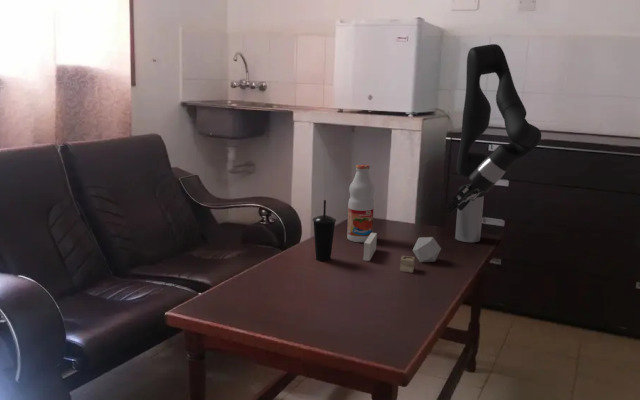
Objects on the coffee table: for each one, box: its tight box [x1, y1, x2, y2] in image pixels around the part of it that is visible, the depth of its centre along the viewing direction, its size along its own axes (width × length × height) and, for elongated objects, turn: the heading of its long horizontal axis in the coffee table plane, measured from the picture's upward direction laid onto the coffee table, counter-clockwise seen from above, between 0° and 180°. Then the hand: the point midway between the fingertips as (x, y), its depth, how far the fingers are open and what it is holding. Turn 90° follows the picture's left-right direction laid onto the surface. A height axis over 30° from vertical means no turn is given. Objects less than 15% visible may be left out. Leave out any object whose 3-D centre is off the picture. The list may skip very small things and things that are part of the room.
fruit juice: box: [346, 163, 375, 243], centre depth 225 cm, size 9×9×28 cm
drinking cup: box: [312, 199, 337, 262], centre depth 201 cm, size 8×8×20 cm
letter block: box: [399, 255, 416, 274], centre depth 195 cm, size 4×4×4 cm
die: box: [412, 236, 442, 263], centre depth 204 cm, size 8×9×10 cm
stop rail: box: [362, 232, 378, 262], centre depth 209 cm, size 14×2×6 cm, turn 166°
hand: (453, 209), depth 199 cm, fingers open, 8 cm apart
